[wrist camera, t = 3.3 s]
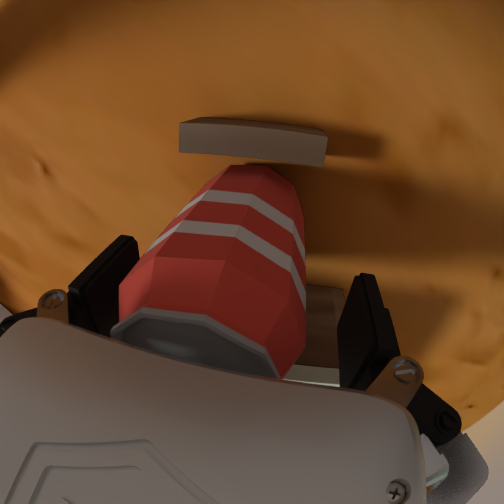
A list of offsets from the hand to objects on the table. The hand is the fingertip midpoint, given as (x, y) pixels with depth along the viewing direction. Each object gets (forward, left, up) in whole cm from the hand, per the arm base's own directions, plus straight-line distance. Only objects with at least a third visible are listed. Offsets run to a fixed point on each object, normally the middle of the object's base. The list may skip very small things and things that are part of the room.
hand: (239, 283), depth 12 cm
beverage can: (0, -1, -7) cm, 7 cm away
